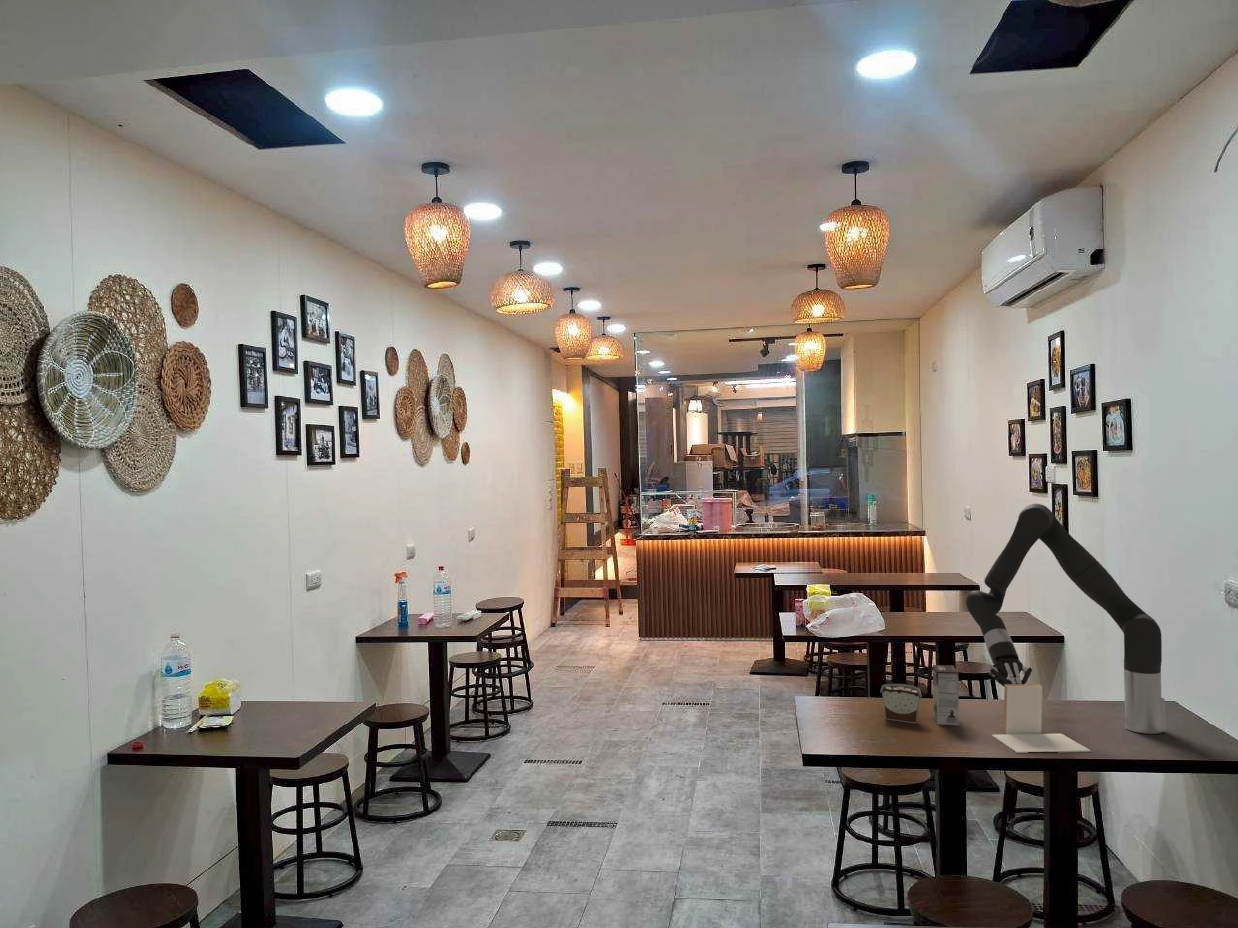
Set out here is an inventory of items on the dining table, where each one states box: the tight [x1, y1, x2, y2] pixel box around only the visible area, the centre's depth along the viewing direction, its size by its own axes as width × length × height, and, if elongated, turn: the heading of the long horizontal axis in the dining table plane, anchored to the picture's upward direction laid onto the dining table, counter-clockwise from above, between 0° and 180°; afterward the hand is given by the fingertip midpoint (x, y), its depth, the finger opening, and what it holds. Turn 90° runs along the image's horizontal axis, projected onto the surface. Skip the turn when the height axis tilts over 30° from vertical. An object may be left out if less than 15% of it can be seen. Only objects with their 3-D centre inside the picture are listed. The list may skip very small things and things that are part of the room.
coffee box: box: [932, 664, 960, 726], centre depth 261 cm, size 9×6×16 cm
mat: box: [991, 733, 1092, 754], centre depth 238 cm, size 20×15×1 cm
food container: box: [879, 683, 923, 724], centre depth 264 cm, size 12×6×10 cm, turn 58°
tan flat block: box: [1003, 683, 1043, 734], centre depth 248 cm, size 10×2×14 cm, turn 91°
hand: (1020, 698), depth 249 cm, fingers closed
